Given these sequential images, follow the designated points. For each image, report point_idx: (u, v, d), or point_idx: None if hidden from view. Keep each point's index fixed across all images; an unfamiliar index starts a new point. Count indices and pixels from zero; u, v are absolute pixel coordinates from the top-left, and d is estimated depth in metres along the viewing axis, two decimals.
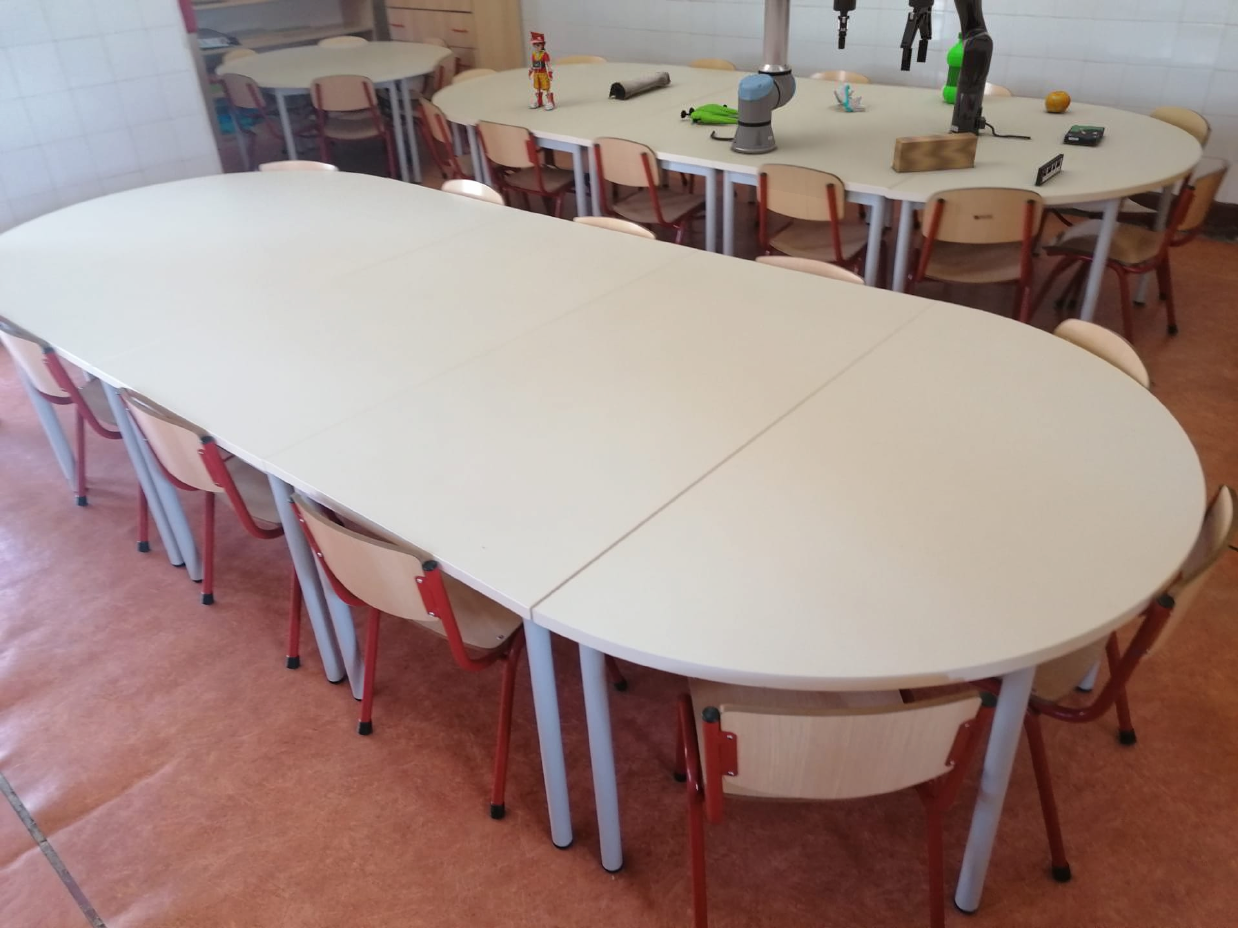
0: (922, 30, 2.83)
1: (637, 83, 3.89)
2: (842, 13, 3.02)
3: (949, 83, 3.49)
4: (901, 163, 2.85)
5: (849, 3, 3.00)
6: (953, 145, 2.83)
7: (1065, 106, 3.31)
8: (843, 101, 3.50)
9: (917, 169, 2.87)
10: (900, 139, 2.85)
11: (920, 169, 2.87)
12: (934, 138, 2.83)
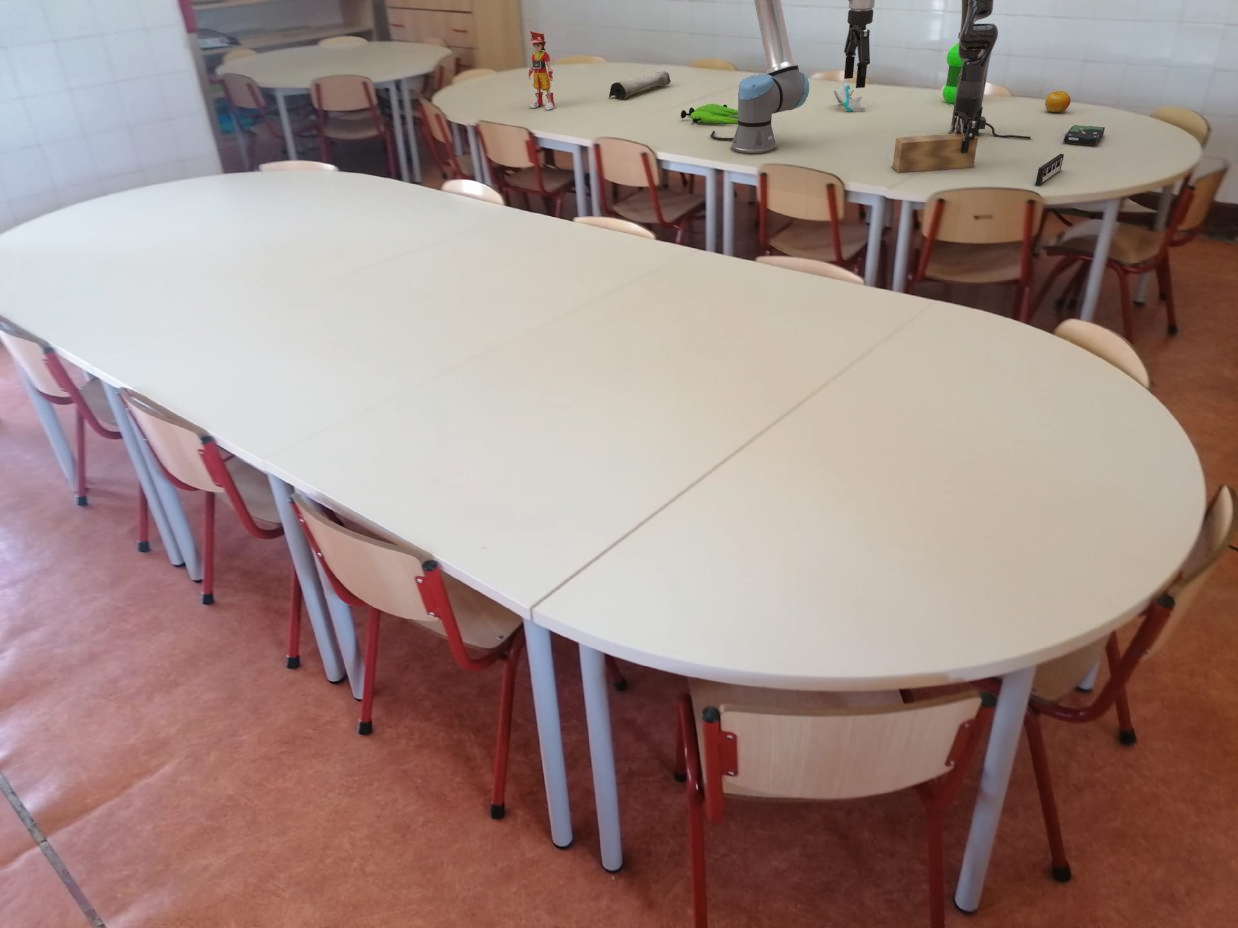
0: None
1: (637, 83, 3.89)
2: None
3: (949, 83, 3.49)
4: (901, 163, 2.85)
5: None
6: (953, 145, 2.83)
7: (1065, 106, 3.31)
8: (843, 101, 3.50)
9: (917, 169, 2.87)
10: (900, 139, 2.85)
11: (920, 169, 2.87)
12: (934, 138, 2.83)
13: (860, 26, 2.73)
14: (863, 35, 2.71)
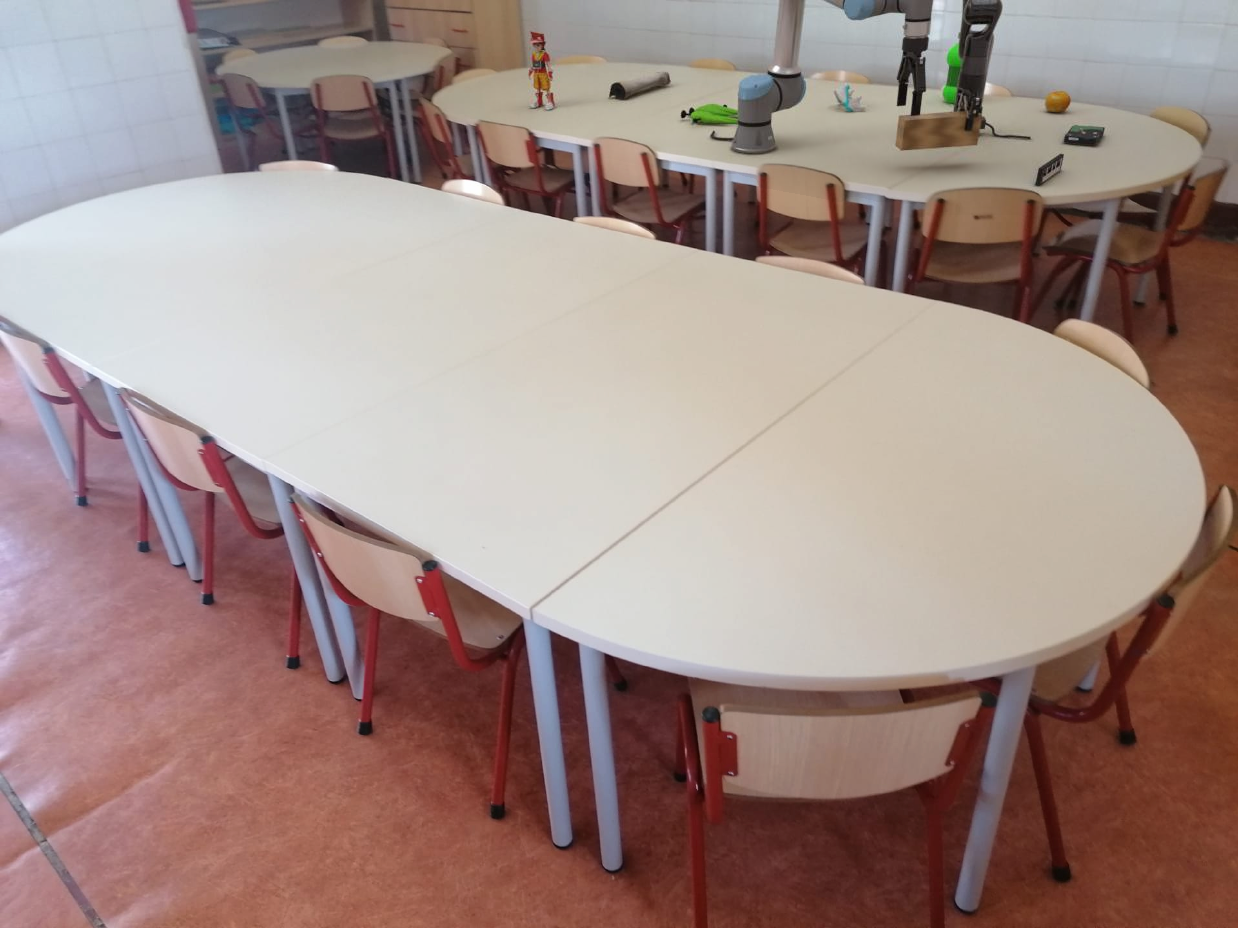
0: None
1: (637, 83, 3.89)
2: None
3: (949, 83, 3.49)
4: (904, 141, 2.81)
5: None
6: (957, 123, 2.79)
7: (1065, 106, 3.31)
8: (843, 101, 3.50)
9: (920, 147, 2.83)
10: (903, 117, 2.81)
11: (923, 147, 2.83)
12: (937, 116, 2.80)
13: (915, 53, 2.68)
14: (919, 63, 2.66)
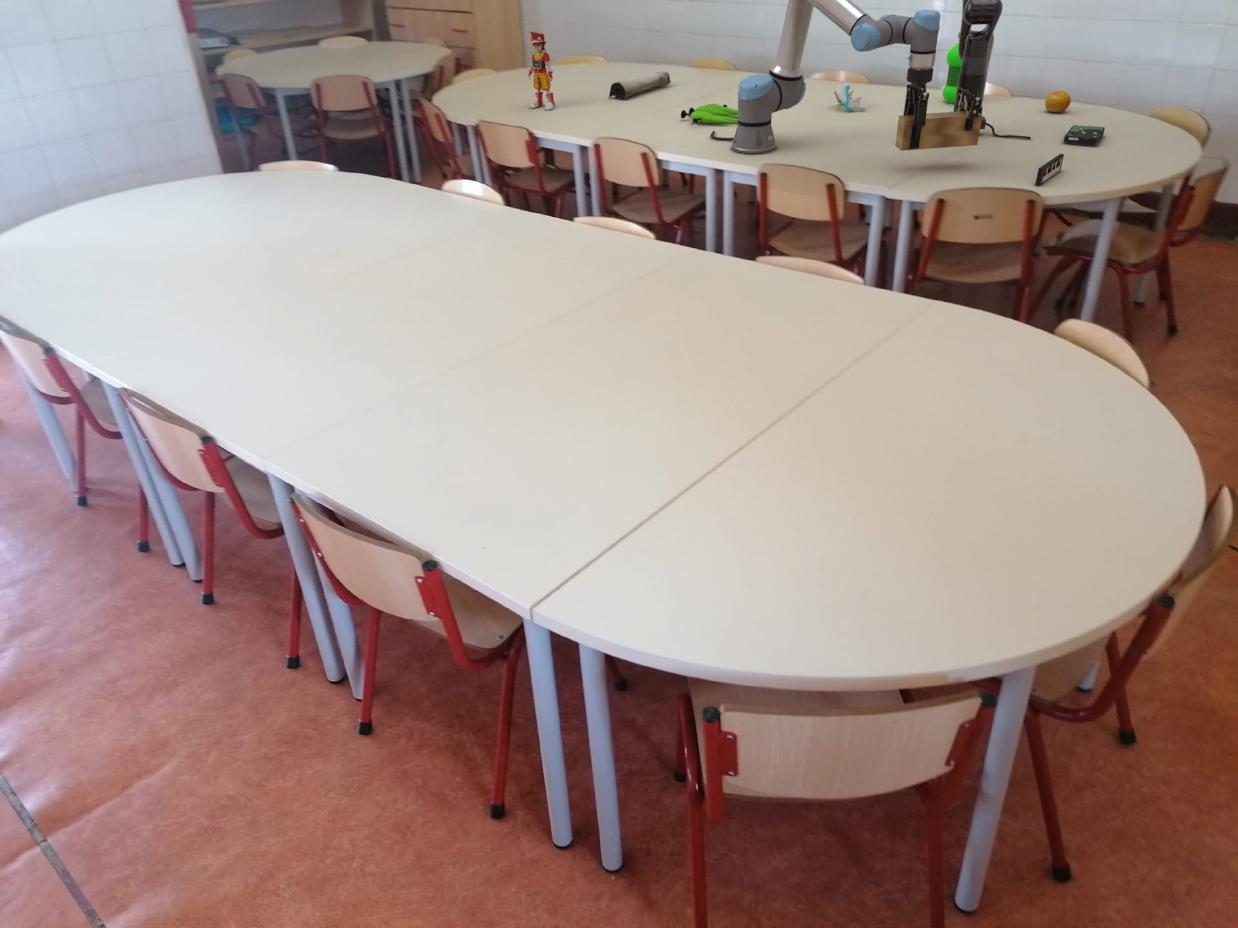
0: None
1: (637, 83, 3.89)
2: None
3: (949, 83, 3.49)
4: (904, 141, 2.81)
5: None
6: (957, 123, 2.79)
7: (1065, 106, 3.31)
8: (843, 101, 3.50)
9: (920, 147, 2.83)
10: (903, 117, 2.81)
11: (923, 147, 2.83)
12: (937, 116, 2.80)
13: (920, 85, 2.71)
14: (922, 99, 2.71)
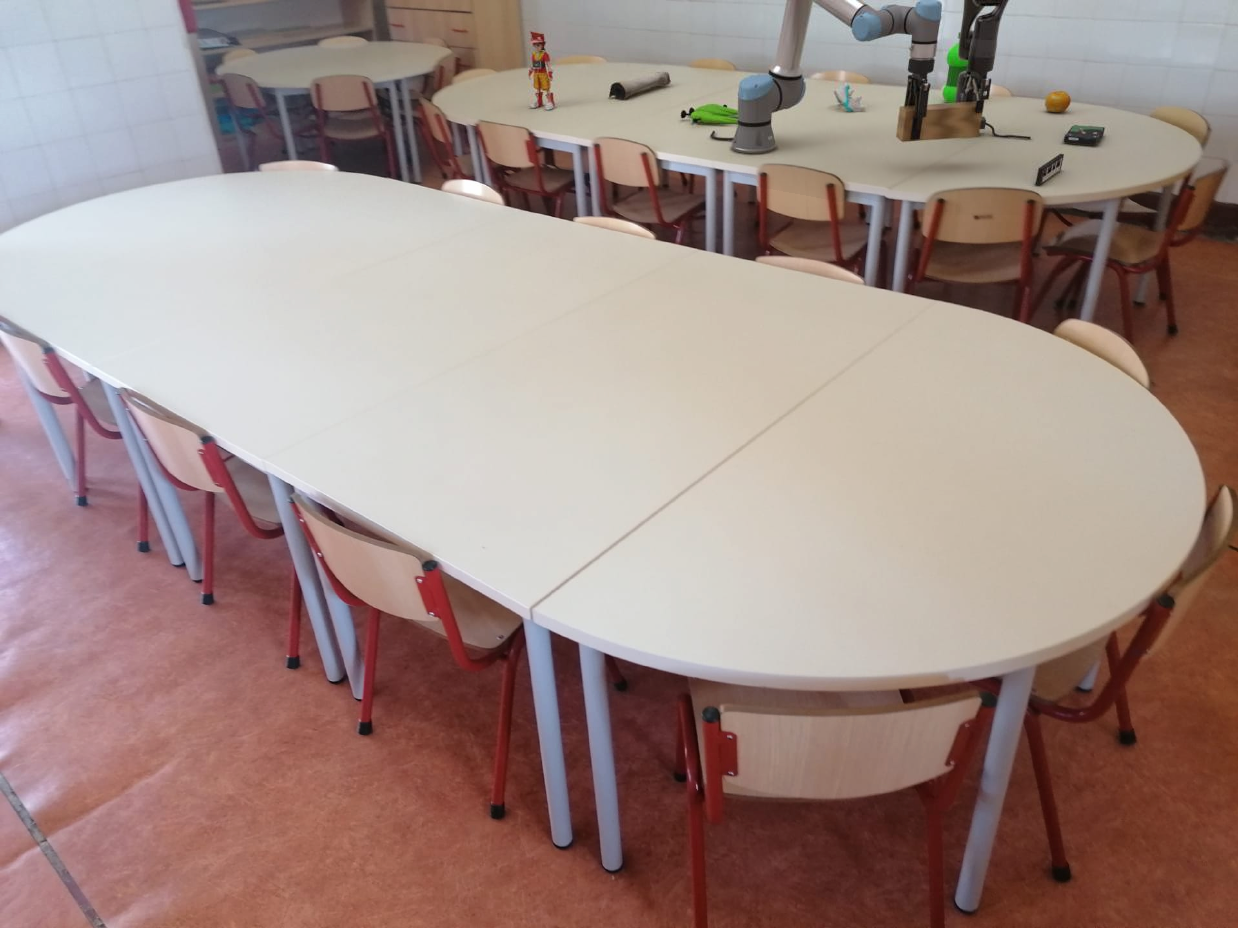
0: None
1: (637, 83, 3.89)
2: None
3: (949, 83, 3.49)
4: (905, 132, 2.80)
5: None
6: (958, 114, 2.78)
7: (1065, 106, 3.31)
8: (843, 101, 3.50)
9: (921, 138, 2.81)
10: (904, 108, 2.79)
11: (924, 139, 2.81)
12: (939, 107, 2.78)
13: (921, 75, 2.70)
14: (923, 89, 2.69)
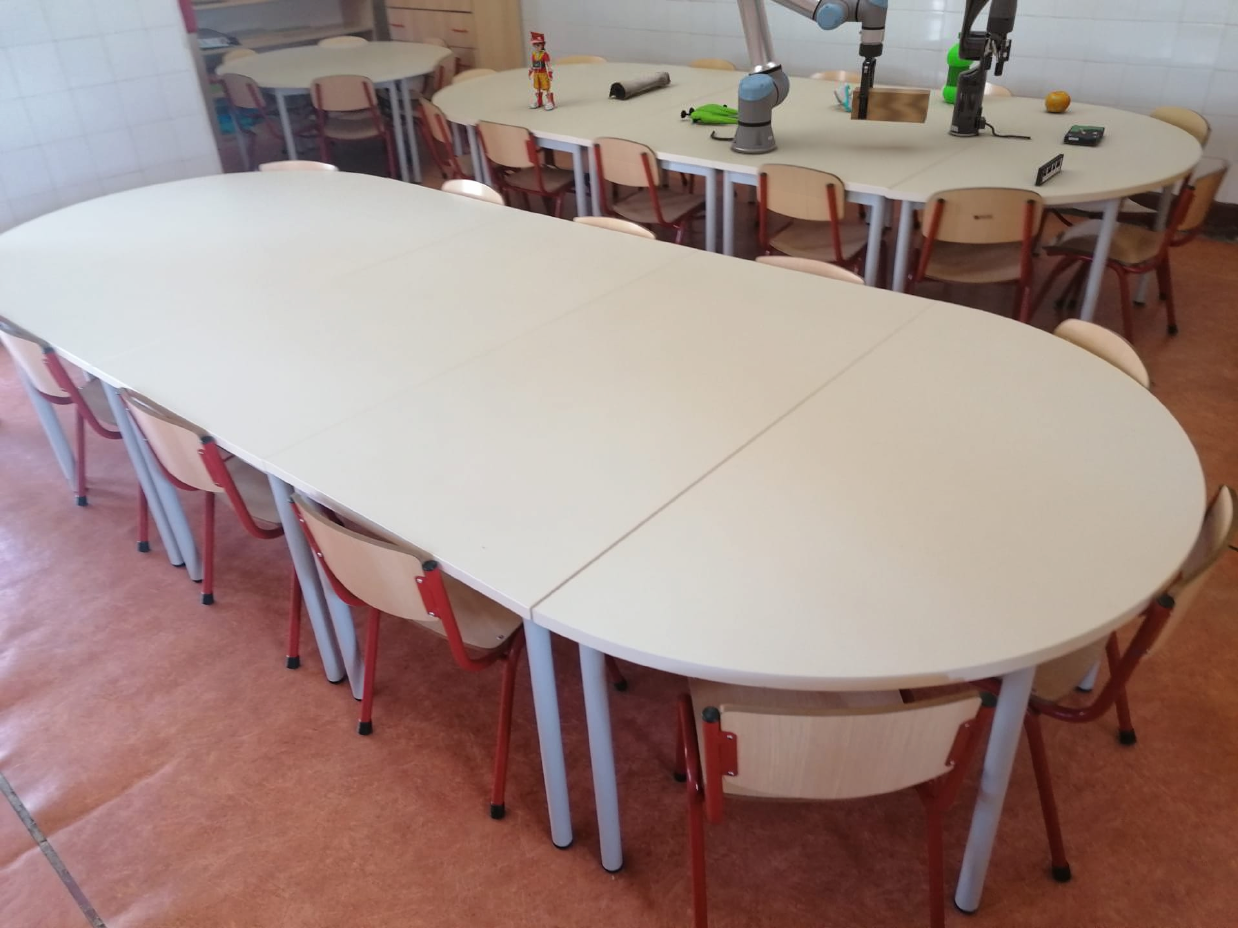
0: None
1: (637, 83, 3.89)
2: None
3: (949, 83, 3.49)
4: (853, 110, 3.04)
5: None
6: (903, 99, 2.96)
7: (1065, 106, 3.31)
8: (843, 101, 3.50)
9: (868, 118, 3.04)
10: (857, 88, 3.03)
11: (871, 119, 3.03)
12: (888, 90, 2.99)
13: (865, 58, 2.93)
14: (863, 71, 2.93)
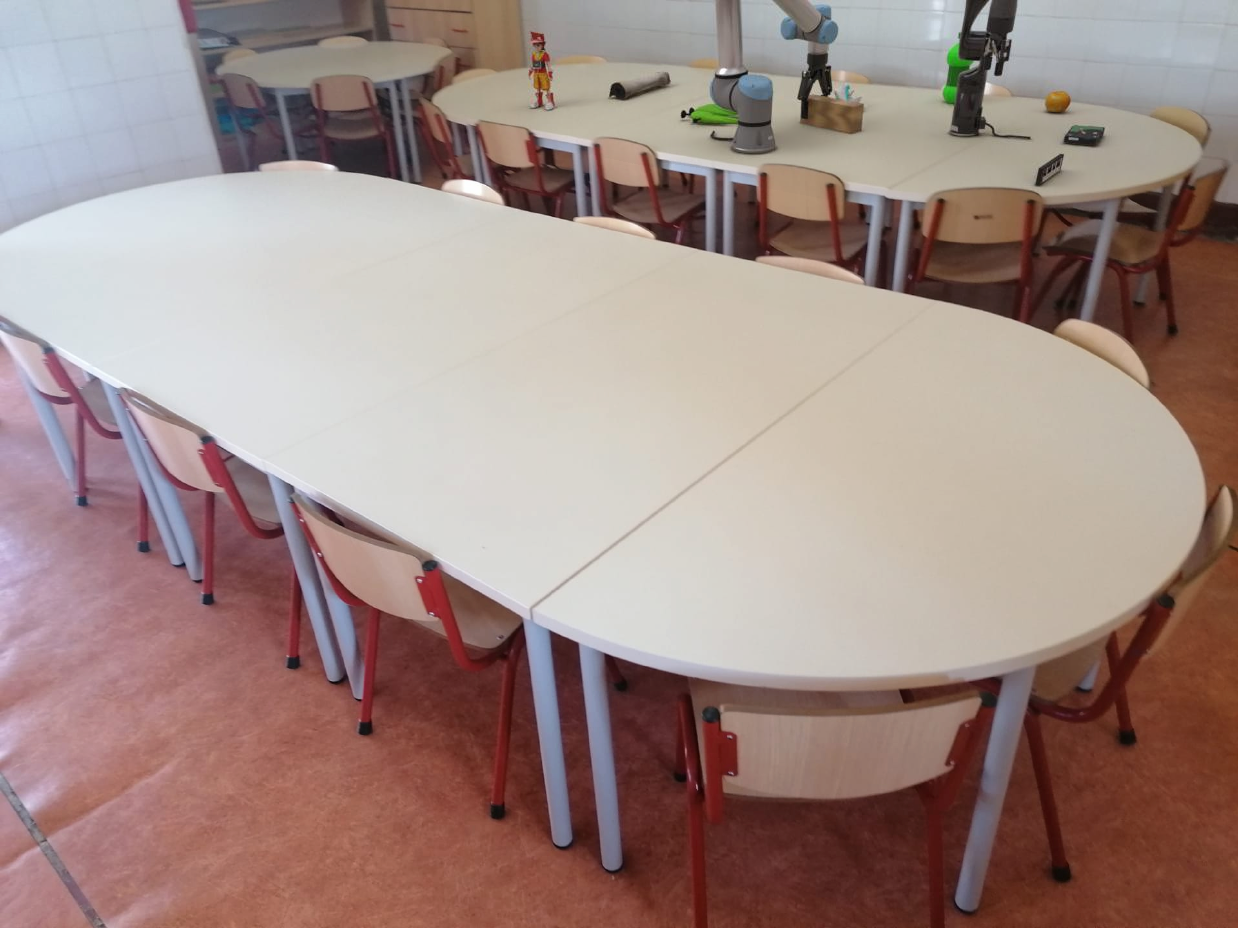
0: None
1: (637, 83, 3.89)
2: None
3: (949, 83, 3.49)
4: None
5: None
6: (836, 109, 3.27)
7: (1065, 106, 3.31)
8: None
9: (812, 123, 3.38)
10: (809, 95, 3.38)
11: (814, 124, 3.37)
12: (828, 100, 3.31)
13: (809, 66, 3.28)
14: (803, 75, 3.28)
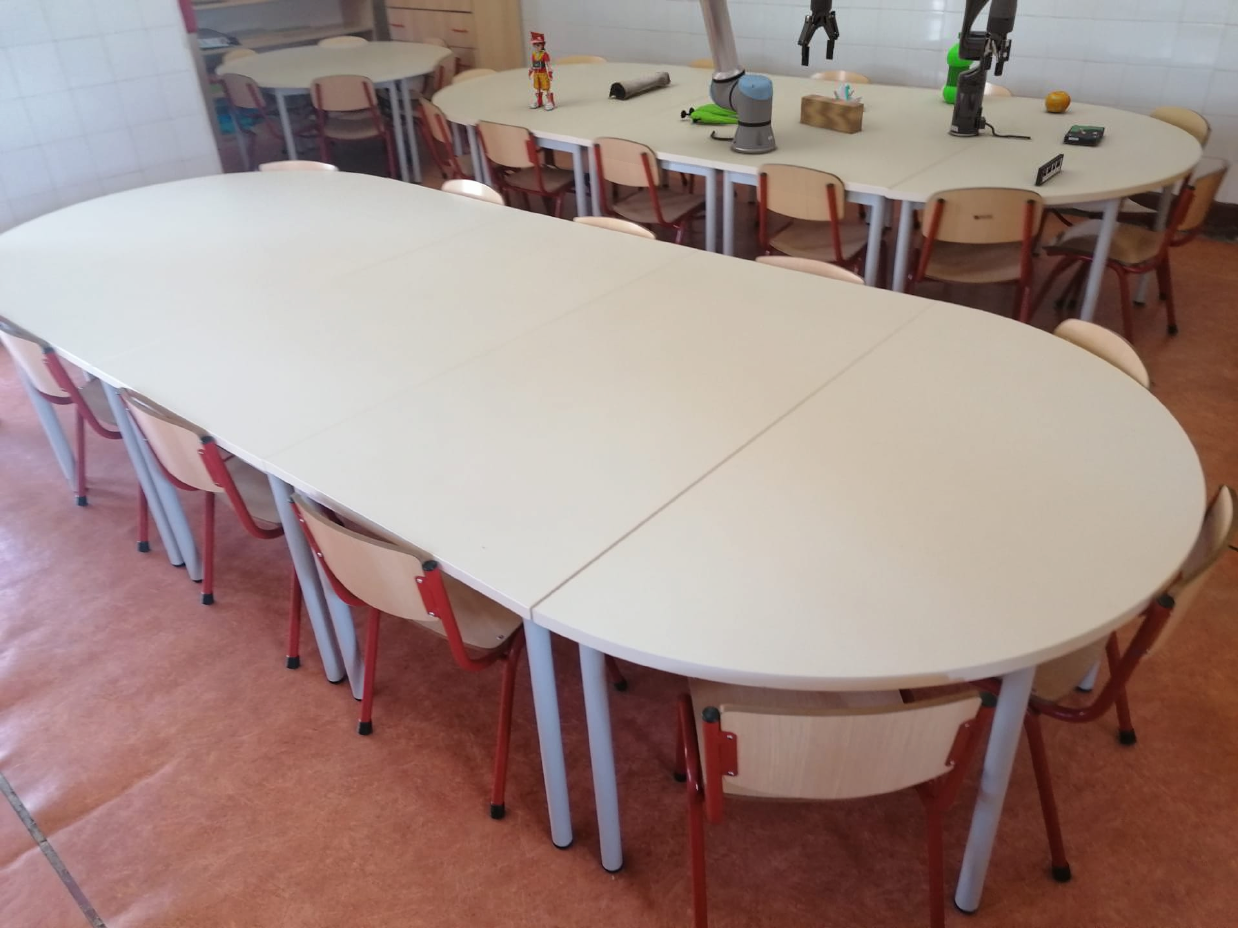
0: None
1: (637, 83, 3.89)
2: None
3: (949, 83, 3.49)
4: (801, 114, 3.40)
5: None
6: (836, 109, 3.27)
7: (1065, 106, 3.31)
8: None
9: (812, 123, 3.38)
10: (809, 95, 3.38)
11: (814, 124, 3.37)
12: (828, 100, 3.31)
13: (812, 12, 3.18)
14: (806, 20, 3.17)
